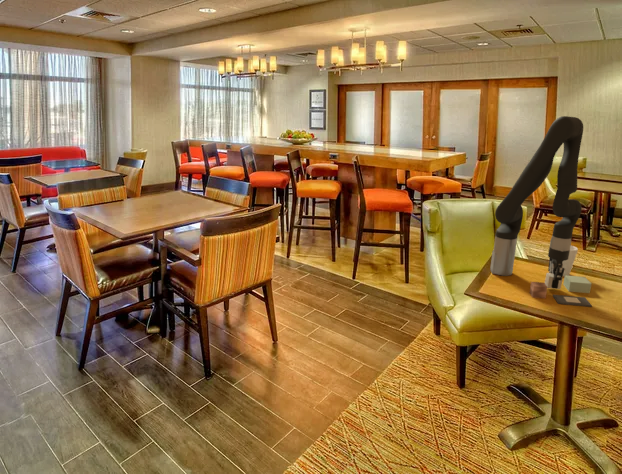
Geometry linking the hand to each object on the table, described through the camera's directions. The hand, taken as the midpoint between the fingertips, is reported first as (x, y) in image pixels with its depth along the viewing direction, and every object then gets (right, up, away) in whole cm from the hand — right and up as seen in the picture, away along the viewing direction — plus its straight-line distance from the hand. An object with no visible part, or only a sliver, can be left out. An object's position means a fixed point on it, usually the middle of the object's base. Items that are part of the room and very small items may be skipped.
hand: (552, 285), depth 195 cm
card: (+2, -5, -11) cm, 12 cm away
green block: (+11, -2, +2) cm, 12 cm away
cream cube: (0, 0, 0) cm, 0 cm away
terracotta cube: (-9, -4, -5) cm, 11 cm away
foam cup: (+14, +3, +19) cm, 24 cm away
